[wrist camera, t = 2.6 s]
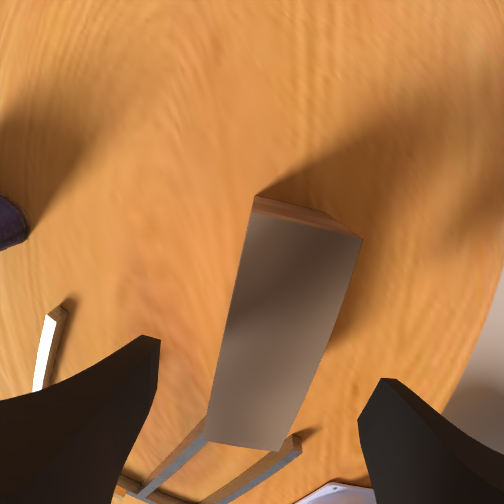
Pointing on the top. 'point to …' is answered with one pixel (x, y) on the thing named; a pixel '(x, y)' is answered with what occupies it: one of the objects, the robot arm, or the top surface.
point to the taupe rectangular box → (278, 321)
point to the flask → (12, 223)
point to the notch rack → (181, 454)
